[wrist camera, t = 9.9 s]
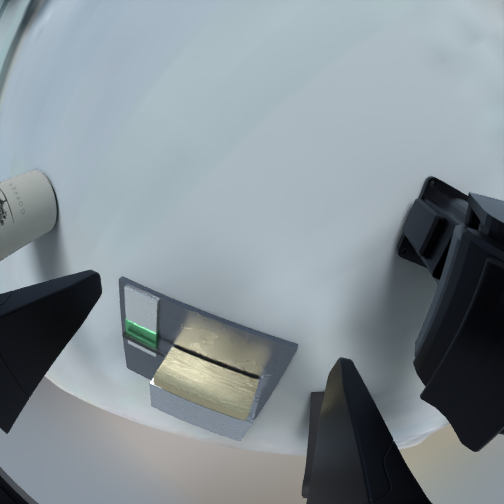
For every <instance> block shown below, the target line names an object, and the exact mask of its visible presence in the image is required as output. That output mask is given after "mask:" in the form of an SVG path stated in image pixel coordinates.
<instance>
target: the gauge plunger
mask: <svg viewBox="0 0 504 504" xmlns="http://www.w3.org/2000/svg"><path fill="white" fill-rule="evenodd" d="M123 337H124V338H125V339H127V340H129V341H131V342H133V343H135V344H137V345H139V346H141V347H143V348H145V349H147V350H149V351H151V352H153V353H156V354H158V355H160V356H162V357H164V358H165V359H164V361H163V362H162V364H161V365H160V367H159V369H158V370H157V372H156V373H155V375H154V376H153V380H154V385H156V386H158V387H160V388H162V389H164V390H166V391H169V392H171V393H173V394H175V395H178V396H180V397H182V398H185V399H187V400H189V401H192V402H194V403H197V404H199V405H202V406H204V407H207V408H210V409H212V410H215V411H218V412H220V413H223V414H226V415H229V416H232V417H235V418H238V419H241V420H244V421H245V420H246V418H247V417H248V415H249V412H250V409H251V406H252V402H253V399H254V396H255V392H256V389H257V385H258V382H259V380H257V379H254V378H251V377H248V376H245V375H243V374H240V373H237V372H234V371H231V370H228V369H226V368H223V367H220V366H218V365H215V364H212V363H210V362H207V361H205V360H202V359H200V358H197V357H195V356H192V355H190V354H188V353H185V352H183V351H181V350H178V349H176V348H174V347H172V348H171V350H170V351H169V352H167V351H165V350H162V349H160V348H158V347H156V346H154V345H152V344H150V343H147V342H145V341H143V340H141V339H139V338H137V337H135V336H133V335H131V334H129V333H127V332H126V331H124V332H123Z"/></svg>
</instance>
